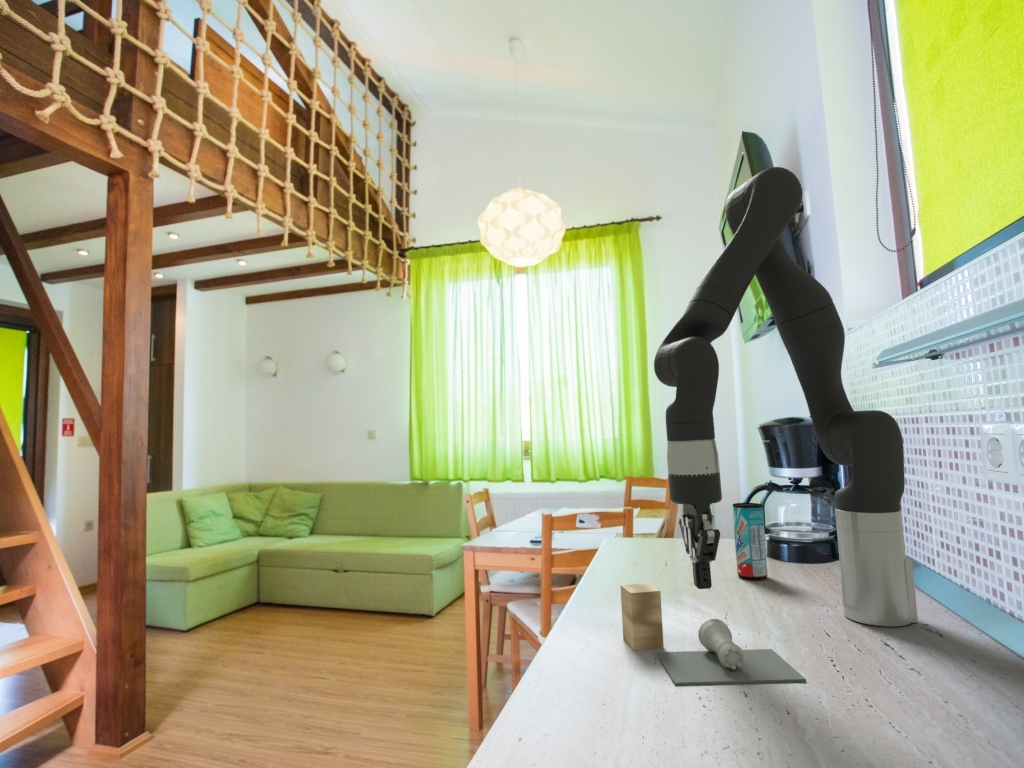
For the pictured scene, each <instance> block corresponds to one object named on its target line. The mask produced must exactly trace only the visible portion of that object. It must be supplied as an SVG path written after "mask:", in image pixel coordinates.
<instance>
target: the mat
mask: <svg viewBox="0 0 1024 768" xmlns="http://www.w3.org/2000/svg"><path fill="white" fill-rule="evenodd" d="M742 651H743V653H744V662H742V667H740V668H739V667H738V668H736V670H732V669H728V668H725V667H724V666H723V665H722V664H721V663H720V661H719V657H718V655H717V653H713V652H710V651H708V650H690V651H686V650H683V651H657V652H656V656H657V657H658V659H659V661H660V663H661V664H662V666H663V667H664V669H665V671H666V672H667V675H668V676H669V678H670V680H671V681H672V683H673V685H674V686H689V685H690V686H693V685H695V686H696V685H725V684H726V685H730V684H731V685H732V684H764V683H767V684H768V683H802V682H806V683H807V678H805V677H804V676H803V675H802V674H800V673H799V671H797V669H795V668H794V667H793V666H792V665H791V664H789V663H788V662H787V661H786V660H785V659H784V658H782V657H781V656H780V655H779V654H778V653H777V652H775V651H774V650H773V649H772V648H765V649H764V648H763V649H762V648H761V649H760V648H758V649H742Z"/></svg>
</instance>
